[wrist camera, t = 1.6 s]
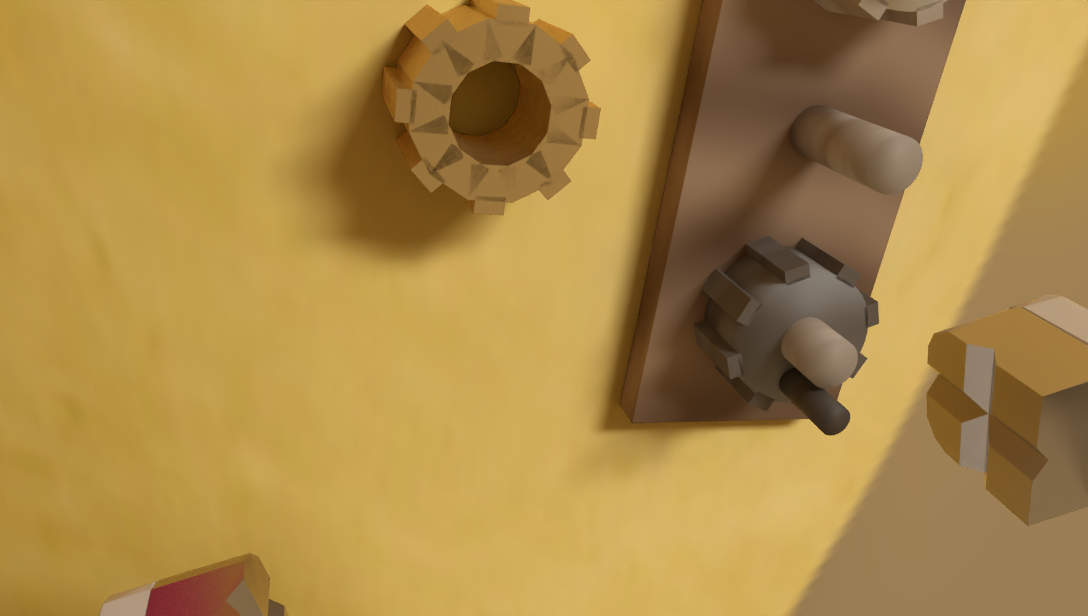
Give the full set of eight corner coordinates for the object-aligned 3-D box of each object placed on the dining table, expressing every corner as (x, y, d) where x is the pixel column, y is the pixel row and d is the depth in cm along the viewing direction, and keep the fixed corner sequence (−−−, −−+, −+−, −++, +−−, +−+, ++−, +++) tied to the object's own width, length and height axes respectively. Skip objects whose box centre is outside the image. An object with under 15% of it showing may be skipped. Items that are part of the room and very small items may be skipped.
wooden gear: (550, 185, 32) (582, 219, 28) (376, 173, 30) (388, 209, 26) (576, 5, 29) (616, 18, 26) (389, -20, 27) (403, -10, 24)
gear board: (813, 401, 40) (915, 497, 34) (619, 405, 37) (691, 511, 30) (1008, -229, 30) (1210, -267, 23) (763, -295, 27) (916, -360, 20)
